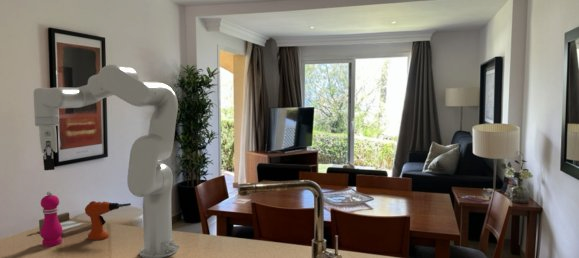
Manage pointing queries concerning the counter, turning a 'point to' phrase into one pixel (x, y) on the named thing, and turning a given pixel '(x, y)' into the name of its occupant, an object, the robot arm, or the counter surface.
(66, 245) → the counter surface
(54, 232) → the pepper mill
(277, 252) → the counter surface
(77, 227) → the brown picture frame
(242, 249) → the counter surface
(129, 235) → the counter surface
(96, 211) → the toy drill
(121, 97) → the robot arm
